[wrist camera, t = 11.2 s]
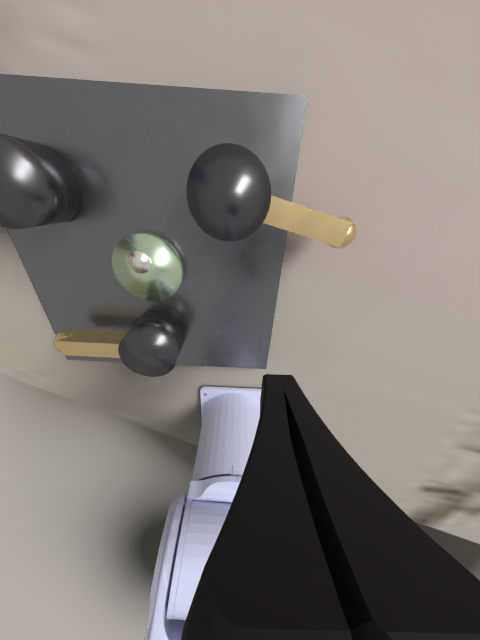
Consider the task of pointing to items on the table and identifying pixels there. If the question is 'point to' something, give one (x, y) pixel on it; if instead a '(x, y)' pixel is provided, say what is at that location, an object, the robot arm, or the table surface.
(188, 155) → the dark grey square plate
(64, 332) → the knob
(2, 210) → the knob
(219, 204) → the knob
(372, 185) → the table surface
